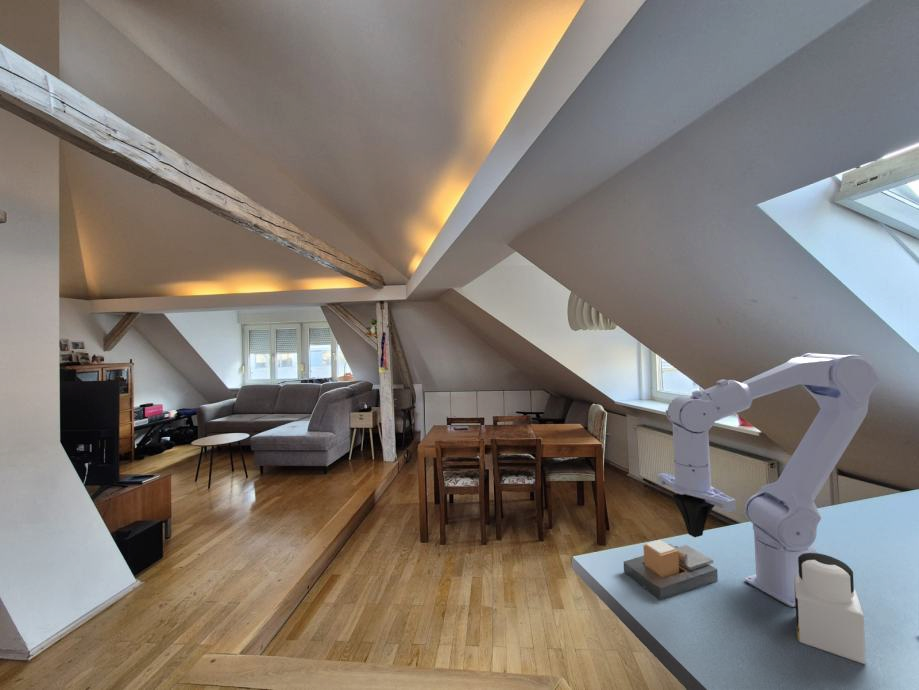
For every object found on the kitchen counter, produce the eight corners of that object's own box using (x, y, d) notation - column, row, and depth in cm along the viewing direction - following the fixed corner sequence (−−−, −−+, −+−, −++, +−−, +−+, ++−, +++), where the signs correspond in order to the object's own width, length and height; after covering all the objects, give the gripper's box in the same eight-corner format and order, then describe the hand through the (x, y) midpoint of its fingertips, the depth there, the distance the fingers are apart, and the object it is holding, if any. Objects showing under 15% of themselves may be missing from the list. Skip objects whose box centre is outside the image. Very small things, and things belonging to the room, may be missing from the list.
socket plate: (677, 556, 81) (676, 544, 81) (717, 580, 73) (717, 567, 73) (624, 572, 77) (623, 560, 77) (660, 600, 68) (659, 586, 68)
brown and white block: (661, 567, 77) (659, 538, 77) (679, 579, 73) (677, 549, 73) (644, 572, 75) (643, 543, 75) (662, 585, 71) (660, 554, 71)
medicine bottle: (795, 614, 63) (792, 542, 63) (857, 633, 59) (853, 556, 58) (798, 642, 58) (794, 564, 57) (866, 666, 53) (862, 580, 53)
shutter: (686, 547, 80) (685, 535, 80) (713, 563, 74) (712, 550, 74) (663, 554, 78) (663, 542, 78) (690, 570, 72) (689, 557, 72)
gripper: (644, 454, 76) (647, 522, 77) (712, 478, 63) (717, 560, 63) (671, 449, 79) (674, 515, 79) (743, 471, 65) (747, 550, 65)
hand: (695, 534), depth 71 cm, fingers closed
